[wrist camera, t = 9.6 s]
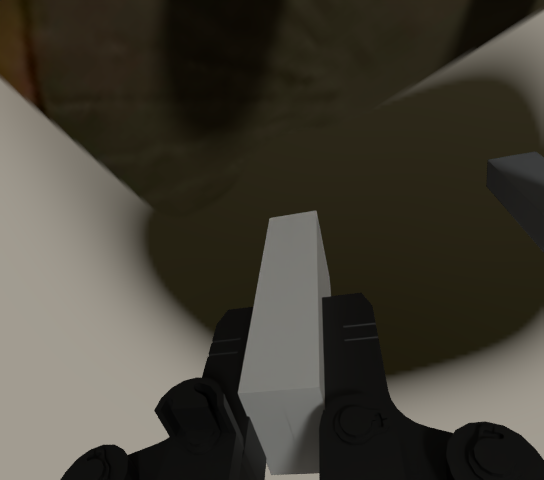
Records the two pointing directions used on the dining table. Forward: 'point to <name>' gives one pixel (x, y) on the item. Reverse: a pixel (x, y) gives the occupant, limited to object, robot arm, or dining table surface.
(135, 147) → the dining table surface
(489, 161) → the bridge
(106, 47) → the dining table surface
